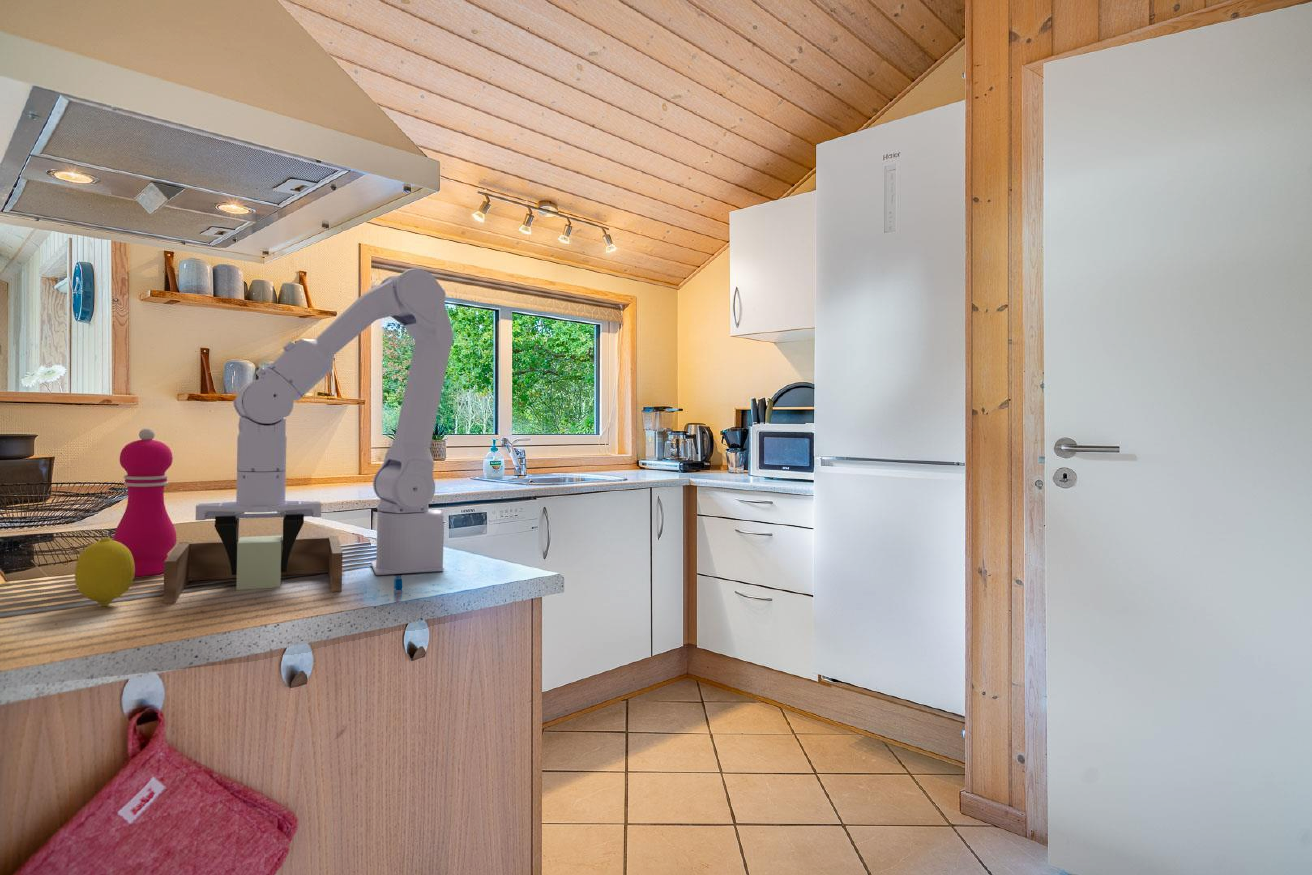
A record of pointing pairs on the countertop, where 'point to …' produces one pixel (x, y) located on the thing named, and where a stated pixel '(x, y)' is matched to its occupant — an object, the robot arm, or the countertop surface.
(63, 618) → the countertop surface
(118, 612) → the countertop surface
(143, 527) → the pepper mill
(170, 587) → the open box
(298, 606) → the countertop surface
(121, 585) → the lemon
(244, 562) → the block
